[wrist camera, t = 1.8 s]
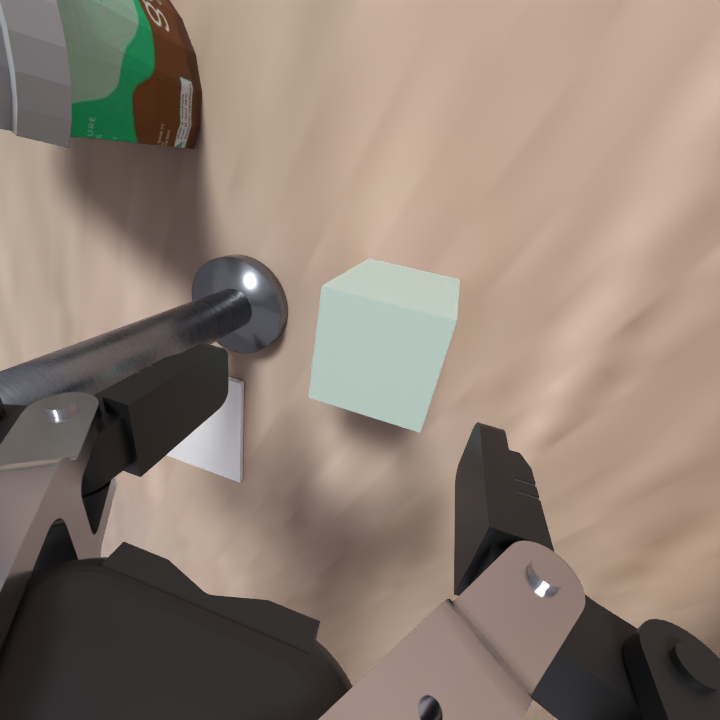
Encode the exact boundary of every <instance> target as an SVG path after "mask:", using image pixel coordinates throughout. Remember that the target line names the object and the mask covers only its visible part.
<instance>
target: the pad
mask: <svg viewBox="0 0 720 720" xmlns="http://www.w3.org/2000/svg"><path fill="white" fill-rule="evenodd" d="M228 388H229V389H228V395H227V398H226V401H225V402H224V404H223V405H222V407H221V408H220V409H219V410H217V411H216V412H215V413H214V414H213V415H212V416H211V417H209V418H208V419H207V420H206V421H205V422H204V423H202V424H201V425H200V426H199V427H198V428H197V429H195V430H194V431H193V432H192V433H191V434H190V435H189V436H187V437H186V438H185V439H184V440H183V441H182V442H180V443H179V444H178V445H177V446H176V447H175V448H174V449H172V450H171V451H170V452H169V453H168V454H167V456H170V457H173V458H175V459H178V460H181V461H183V462H186V463H189V464H191V465H194V466H197V467H199V468H202V469H204V470H207V471H210V472H212V473H215V474H218V475H220V476H223V477H226V478H228V479H231V480H234V481H236V482H239V483H240V482H241V481H242V480H243V418H244V381H241V380H238V379H234V378H231V377H228Z"/></svg>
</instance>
